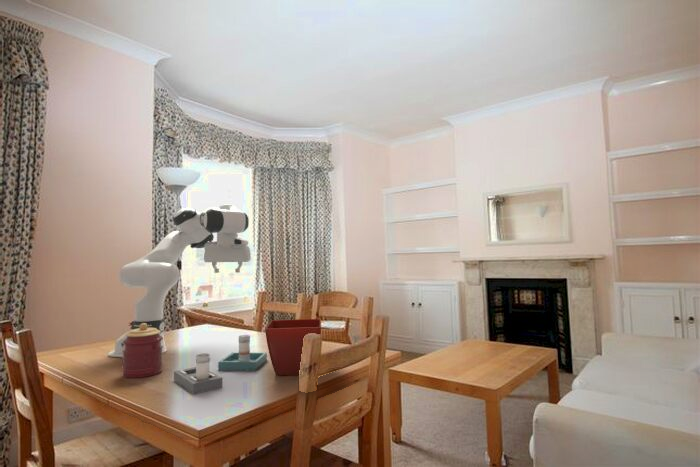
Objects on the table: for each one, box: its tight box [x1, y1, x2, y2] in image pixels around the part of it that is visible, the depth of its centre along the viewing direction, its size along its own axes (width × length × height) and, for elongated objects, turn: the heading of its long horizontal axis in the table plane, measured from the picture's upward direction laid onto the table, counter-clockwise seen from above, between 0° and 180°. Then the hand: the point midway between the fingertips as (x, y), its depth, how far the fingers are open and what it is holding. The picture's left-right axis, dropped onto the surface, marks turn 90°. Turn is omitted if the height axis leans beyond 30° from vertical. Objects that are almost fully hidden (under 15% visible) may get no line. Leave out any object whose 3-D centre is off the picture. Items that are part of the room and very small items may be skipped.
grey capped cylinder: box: [238, 334, 251, 361], centre depth 151 cm, size 4×4×10 cm
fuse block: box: [173, 366, 223, 395], centre depth 129 cm, size 18×9×3 cm, turn 41°
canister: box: [121, 323, 164, 379], centre depth 142 cm, size 13×13×18 cm
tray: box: [217, 352, 268, 372], centre depth 151 cm, size 14×14×3 cm
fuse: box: [195, 352, 211, 381], centre depth 126 cm, size 4×4×10 cm
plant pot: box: [264, 318, 322, 376], centre depth 144 cm, size 19×19×17 cm
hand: (227, 272), depth 175 cm, fingers open, 8 cm apart
